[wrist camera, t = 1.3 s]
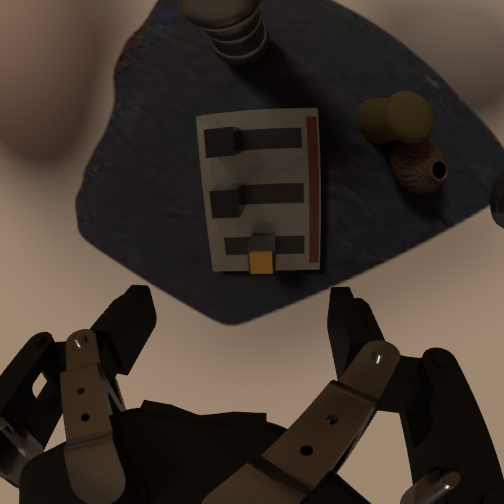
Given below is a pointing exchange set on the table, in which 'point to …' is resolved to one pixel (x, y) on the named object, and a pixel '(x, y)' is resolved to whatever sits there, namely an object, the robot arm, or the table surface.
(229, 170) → the breaker panel
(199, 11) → the plastic bottle
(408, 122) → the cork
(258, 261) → the breaker handle
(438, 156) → the vase
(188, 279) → the table surface
